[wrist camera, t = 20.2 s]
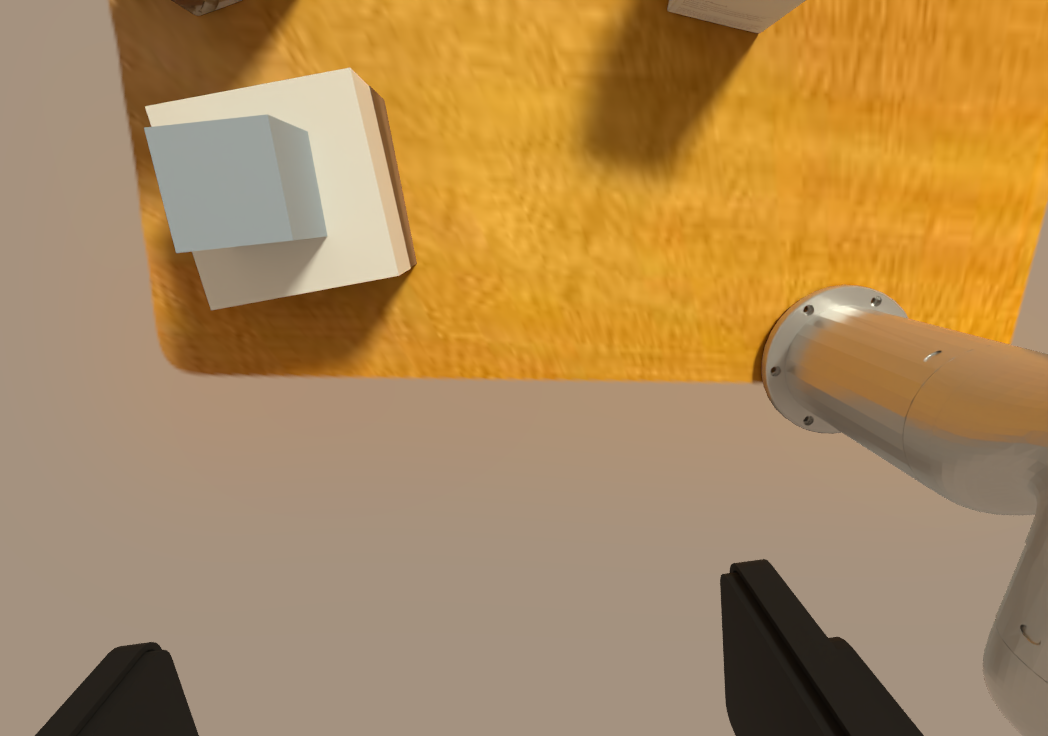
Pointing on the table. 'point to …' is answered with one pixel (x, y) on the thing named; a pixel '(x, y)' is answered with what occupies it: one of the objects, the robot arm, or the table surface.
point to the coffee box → (204, 5)
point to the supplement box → (736, 11)
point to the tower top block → (343, 181)
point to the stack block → (236, 182)
